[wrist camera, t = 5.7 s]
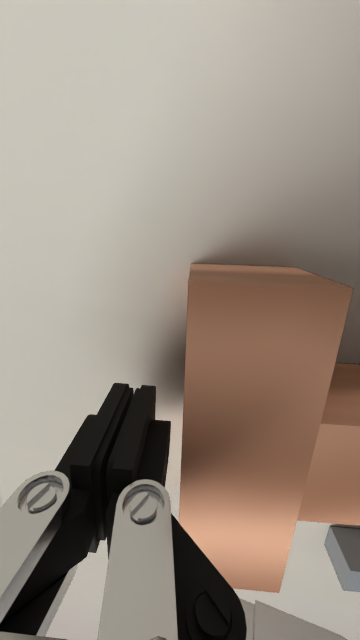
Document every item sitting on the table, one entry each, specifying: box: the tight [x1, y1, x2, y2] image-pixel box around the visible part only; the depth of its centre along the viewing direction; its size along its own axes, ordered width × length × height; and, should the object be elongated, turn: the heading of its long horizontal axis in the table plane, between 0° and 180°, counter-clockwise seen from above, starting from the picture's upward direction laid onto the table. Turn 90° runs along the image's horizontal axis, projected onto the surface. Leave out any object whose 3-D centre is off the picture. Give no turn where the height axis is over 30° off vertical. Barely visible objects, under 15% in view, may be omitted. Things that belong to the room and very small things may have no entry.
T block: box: [179, 264, 360, 593], centre depth 10 cm, size 12×12×4 cm
